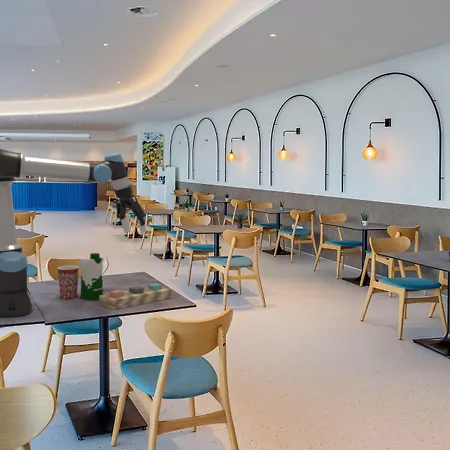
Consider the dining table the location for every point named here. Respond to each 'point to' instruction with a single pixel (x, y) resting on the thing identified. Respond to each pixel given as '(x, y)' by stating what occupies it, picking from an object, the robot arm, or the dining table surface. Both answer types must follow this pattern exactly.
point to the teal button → (154, 286)
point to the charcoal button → (136, 290)
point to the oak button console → (134, 298)
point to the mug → (68, 281)
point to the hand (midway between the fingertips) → (135, 232)
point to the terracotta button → (116, 293)
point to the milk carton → (91, 276)
